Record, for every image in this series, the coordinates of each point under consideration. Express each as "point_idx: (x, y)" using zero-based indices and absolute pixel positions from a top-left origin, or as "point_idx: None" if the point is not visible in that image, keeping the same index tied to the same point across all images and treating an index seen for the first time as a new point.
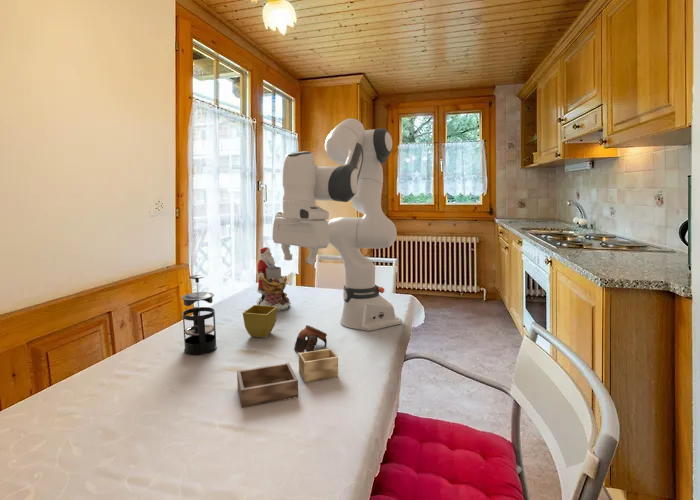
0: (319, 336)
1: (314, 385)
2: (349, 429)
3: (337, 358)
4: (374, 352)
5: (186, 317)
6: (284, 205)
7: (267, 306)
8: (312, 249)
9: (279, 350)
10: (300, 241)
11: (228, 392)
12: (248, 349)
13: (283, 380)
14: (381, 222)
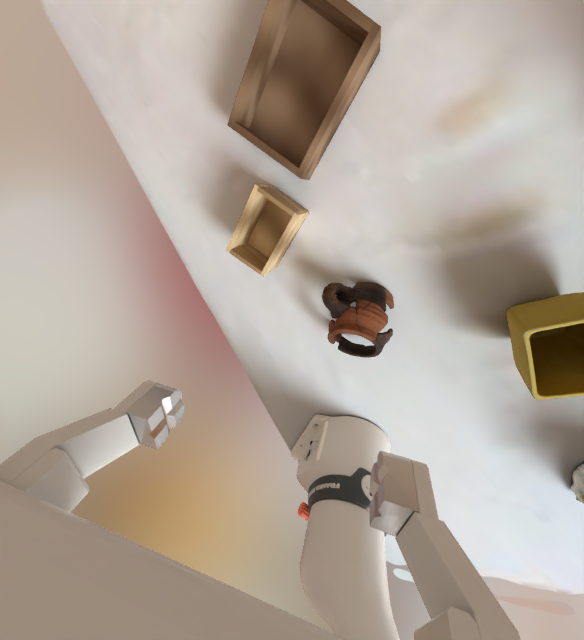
0: (331, 323)
1: None
2: (130, 118)
3: (228, 248)
4: (259, 348)
5: None
6: None
7: (578, 392)
8: (7, 461)
9: (419, 270)
10: (11, 605)
11: (380, 7)
12: (508, 230)
13: (302, 153)
14: None
